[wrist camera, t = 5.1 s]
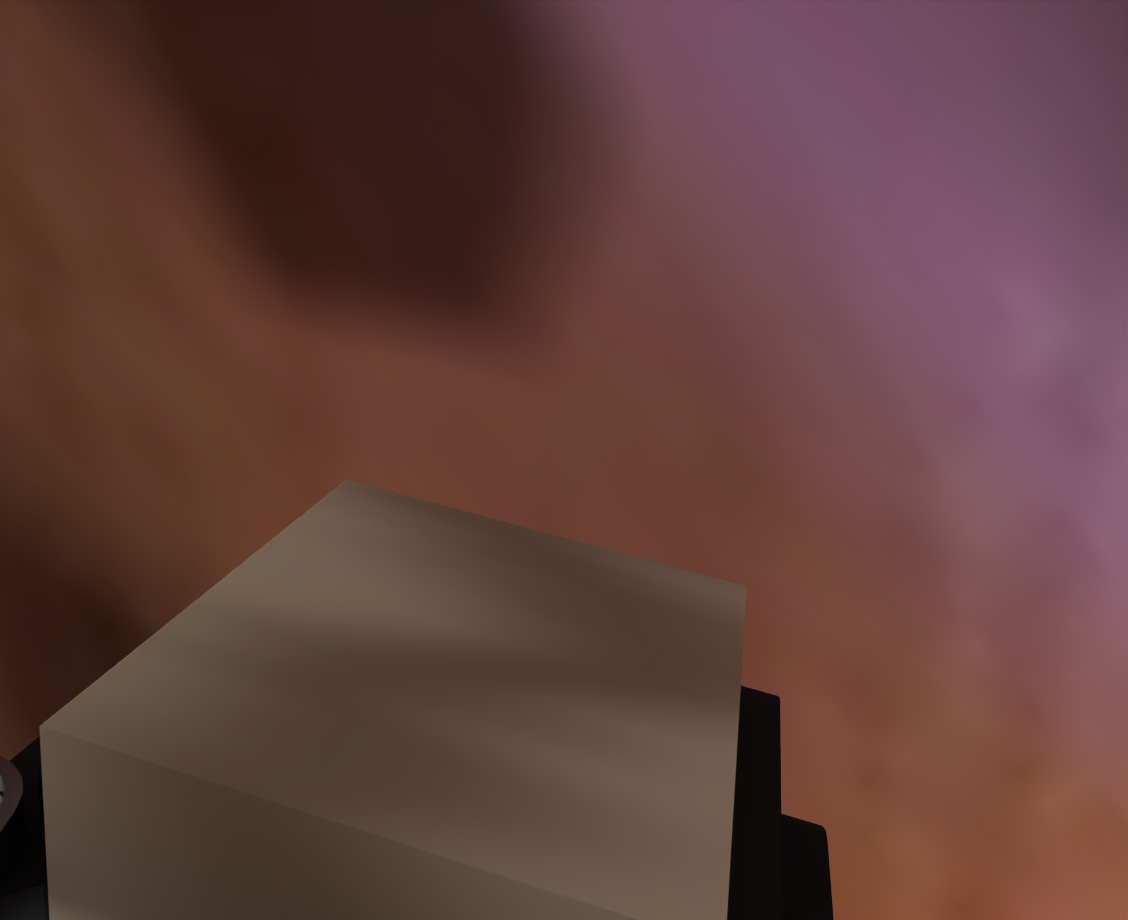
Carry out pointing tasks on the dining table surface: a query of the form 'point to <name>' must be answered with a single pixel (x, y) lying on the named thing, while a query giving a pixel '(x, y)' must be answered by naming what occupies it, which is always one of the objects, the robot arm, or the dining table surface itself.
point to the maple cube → (409, 734)
